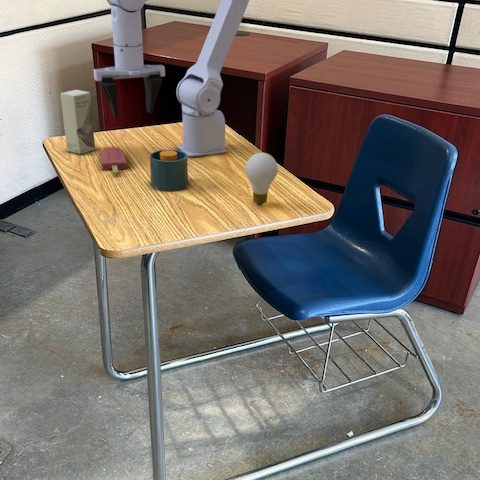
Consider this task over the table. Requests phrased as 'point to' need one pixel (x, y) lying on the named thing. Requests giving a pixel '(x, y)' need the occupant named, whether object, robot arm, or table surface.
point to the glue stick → (168, 155)
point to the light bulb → (261, 175)
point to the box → (78, 121)
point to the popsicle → (113, 159)
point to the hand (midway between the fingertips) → (132, 113)
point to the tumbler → (169, 172)
